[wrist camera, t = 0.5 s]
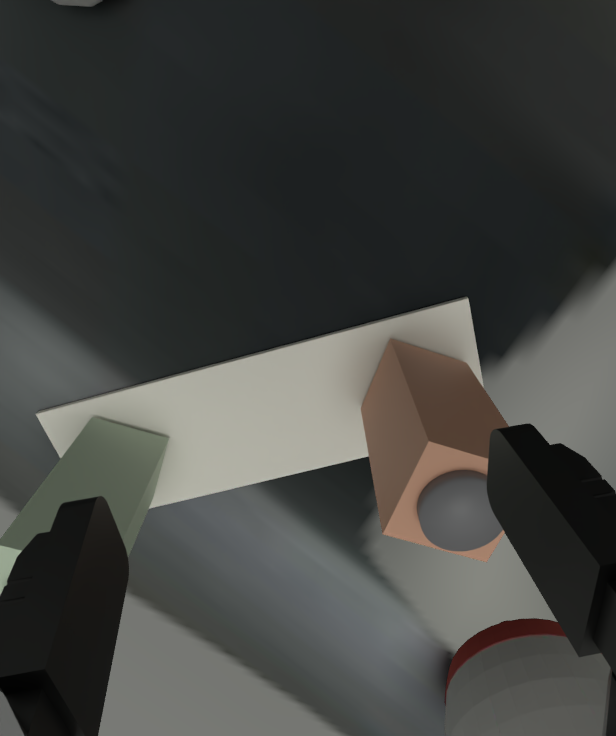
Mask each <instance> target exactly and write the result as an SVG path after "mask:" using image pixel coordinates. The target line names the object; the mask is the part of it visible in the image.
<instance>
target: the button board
mask: <svg viewBox="0 0 616 736" xmlns="http://www.w3.org/2000/svg"><path fill="white" fill-rule="evenodd" d="M390 338H391V339H394V340H397V341H400V342H403V343H406V344H409V345H412V346H416V347H419V348H422V349H425V350H428V351H431V352H434V353H437V354H441V355H444V356H447V357H450V358H453V359H456V360H459V361H463V362H466V363H467V364H468V365H469V367H470V368H471V370H472V371H473V373H474V374H475V376H476V377H477V379H478V380H479V382H480V383H481V385H482V387H483V388H484V386H483V380H482V374H481V368H480V363H479V357H478V351H477V345H476V340H475V334H474V328H473V322H472V317H471V311H470V305H469V299H468V298H467V296H466V297H463V298H459V299H455V300H451V301H448V302H444V303H440V304H437V305H433V306H429V307H425V308H422V309H418V310H414V311H410V312H407V313H403V314H399V315H395V316H392V317H388V318H384V319H381V320H377V321H373V322H369V323H366V324H362V325H358V326H354V327H351V328H347V329H343V330H340V331H336V332H332V333H328V334H325V335H321V336H317V337H313V338H310V339H306V340H302V341H298V342H295V343H291V344H287V345H284V346H280V347H276V348H272V349H269V350H265V351H261V352H257V353H254V354H250V355H246V356H243V357H239V358H235V359H231V360H228V361H224V362H220V363H216V364H213V365H209V366H205V367H201V368H198V369H194V370H190V371H187V372H183V373H179V374H175V375H172V376H168V377H164V378H160V379H157V380H153V381H149V382H146V383H142V384H138V385H134V386H131V387H127V388H123V389H119V390H116V391H112V392H108V393H105V394H101V395H97V396H93V397H90V398H86V399H82V400H78V401H75V402H71V403H67V404H63V405H60V406H56V407H52V408H49V409H45V410H41V411H38V412H37V413H36V416H37V417H38V419H39V421H40V423H41V425H42V426H43V428H44V430H45V432H46V433H47V435H48V437H49V439H50V441H51V442H52V444H53V446H54V448H55V449H56V451H57V453H58V455H59V457H60V458H62V456H63V455H64V454H65V452H66V451H67V450H68V448H69V447H70V446H71V444H72V443H73V442H74V440H75V439H76V438H77V436H78V435H79V434H80V432H81V431H82V430H83V428H84V427H85V426H86V424H87V423H88V422H89V420H90V419H91V418H92V417H94V418H97V419H101V420H105V421H108V422H112V423H115V424H119V425H122V426H126V427H130V428H133V429H137V430H140V431H144V432H148V433H151V434H155V435H158V436H162V437H165V438H169V440H168V444H167V448H166V452H165V456H164V459H163V463H162V467H161V471H160V474H159V478H158V482H157V486H156V489H155V493H154V497H153V500H152V502H151V504H150V507H149V508H154V507H158V506H162V505H166V504H170V503H175V502H179V501H183V500H187V499H191V498H196V497H200V496H204V495H208V494H212V493H217V492H221V491H225V490H229V489H233V488H238V487H242V486H246V485H250V484H254V483H259V482H263V481H267V480H271V479H275V478H280V477H284V476H288V475H292V474H296V473H300V472H305V471H309V470H313V469H317V468H321V467H326V466H330V465H334V464H338V463H342V462H347V461H351V460H355V459H359V458H363V457H368V456H369V454H368V448H367V442H366V437H365V431H364V425H363V420H362V414H361V407H362V404H363V402H364V399H365V397H366V395H367V392H368V390H369V388H370V385H371V383H372V380H373V378H374V376H375V373H376V371H377V369H378V366H379V364H380V362H381V359H382V357H383V354H384V352H385V350H386V347H387V345H388V343H389V340H390Z"/></svg>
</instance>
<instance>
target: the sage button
mask: <svg viewBox="0 0 616 736" xmlns="http://www.w3.org/2000/svg"><path fill="white" fill-rule="evenodd" d="M168 440H169V438H165V437H162V436H158V435H155V434H151V433H148V432H144V431H140V430H137V429H133V428H130V427H126V426H122V425H119V424H115V423H112V422H108V421H105V420H101V419H97V418H94V417H92V418H91V419H90V420H89V422H88V423H87V424H86V426H85V427H84V428H83V430H82V431H81V432H80V434H79V435H78V436H77V438H76V439H75V440H74V442H73V443H72V444H71V446H70V447H69V448H68V450H67V451H66V452H65V454H64V455H63V456H62V458H61V459H60V460H59V462H58V463H57V464H56V466H55V467H54V468H53V470H52V471H51V472H50V474H49V475H48V476H47V478H46V479H45V480H44V482H43V483H42V484H41V486H40V487H39V488H38V490H37V491H36V492H35V494H34V495H33V496H32V498H31V499H30V500H29V502H28V503H27V504H26V506H25V507H24V508H23V509H22V511H21V512H20V513H19V515H18V516H17V517H16V519H15V520H14V521H13V523H12V524H11V526H10V527H9V528H8V529H7V531H6V532H5V533H4V535H3V536H2V537H1V539H0V596H1V593H2V591H3V589H4V586H7V579H8V577H9V575H10V572H11V570H12V568H13V565H14V563H15V561H16V558H17V556H18V555H19V554H20V553H21V552H22V551H23V549H24V548H25V547H26V546H27V545H28V544H29V542H30V541H31V540H32V539H33V538H34V537H35V536H36V534H38V533H44V532H50V530H51V527H52V525H53V522H54V519H55V517H56V514H57V512H58V509H59V507H60V505H61V504H62V503H64V502H69V501H75V500H81V499H87V498H92V497H98V496H102V497H104V498H105V499H106V501H107V503H108V505H109V508H110V510H111V513H112V515H113V518H114V520H115V523H116V525H117V528H118V530H119V533H120V535H121V538H122V540H123V543H124V545H125V548H126V551H127V556H129V554H130V552H131V549H132V547H133V545H134V542H135V540H136V538H137V535H138V533H139V530H140V528H141V526H142V523H143V521H144V519H145V516H146V514H147V512H148V509H149V507H150V504H151V502H152V500H153V497H154V493H155V489H156V486H157V482H158V478H159V474H160V471H161V467H162V463H163V459H164V456H165V452H166V448H167V444H168Z"/></svg>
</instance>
